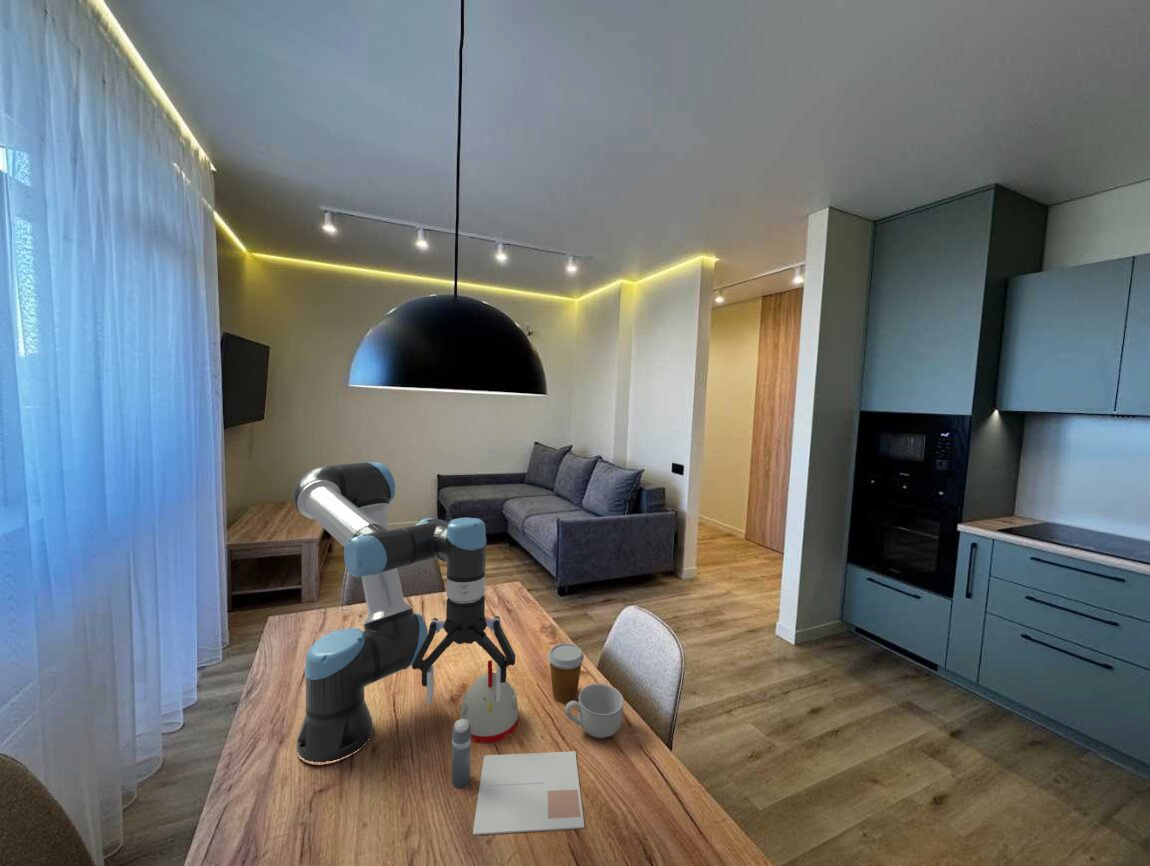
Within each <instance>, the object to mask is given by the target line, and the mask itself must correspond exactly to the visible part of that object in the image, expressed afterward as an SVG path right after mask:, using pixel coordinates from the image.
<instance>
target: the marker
mask: <svg viewBox="0 0 1150 866" xmlns="http://www.w3.org/2000/svg"><path fill="white" fill-rule="evenodd" d="M451 736H452V738H451V785H452V786H453V788H456V789H462V788H464V787H466V786H468V785H469V784H470V781H471V742H472V741H471V726H470V724H469V722H468V720H466V719H460V718H459V719H458V720H456V721H455V722H454V726H453V727H452V734H451Z"/></svg>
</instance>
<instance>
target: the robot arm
mask: <svg viewBox="0 0 1150 866" xmlns="http://www.w3.org/2000/svg"><path fill="white" fill-rule="evenodd" d="M292 491H293V492H292V501H293V505H294V506H295V508H296V509H297V511H298V512H299V513H300V514H301V515H303V516H304V517H305V518H308V519H311V520H315V521H316V522H317V523H318V524H319V525H320V526H321V527H323V529H324V530H325V531H326V532H327V533H328V534H330V535H331V536H332V537H333V538H334V539H335V540H336V541H337V542H338V543H339V544H340V545H341V546H342V547H344V549H343V557H344V558H343V559H344V564H345V566H346V568H347V572H348V573H349V575H351V576H352V577H354V578H361V581H362V587H363V592H364V597H365V602H366V608H367V613H368V614H367V617H366V619H365V620H364V621H363V628H364V631H363V630H362V629H360V628H356V627H347V628H346V629H345V628H340V629H337V630H334V631H331V632H329V633H326V634H325V635H322V636H321V637H320V638H319V639H317V640H316V641H314V642H313V644H312V645H311V646H310V648H309V649H308V651H307V653H306V658H305V666H304V676H305V715H304V719H303V722H302V725H301V728H300V730H299V733H298V736H297V739H296V753H297V752H298V753H299V755H300V756H301V757H302V758H304V759H305V760H308V761H313V762H326V761H333V760H337V759H340V758H342V757H345V756H347V755H349V754H351V753H353V752H355V751H357V750H358V749H360V748H361V747H362V746H363V745H364V744H365V743H366V742H367V741H368V739H369V738H370V739H371V737H372V735H371V733H372V734H373V717H372V715H371V713H370V710H369V707H368V704H367V702H366V699H365V687H366V686H369V685H371V684H374V683H375V682H378V681H380V680H382V679H384V678H387V677H389V676H391V675H393V674H395V673H398V672H400V671H403V670H407V669H408V668H409V667H411V668H412V670H420V672H421V685H422V687H426V705H432V701H433V698H434V684H435V683H434V678H435V677H434V671H435V669H434V668H435V667H434V663H435V662H436V661H437V660H438V659H439V658H440V657H441V656H442V655H443V653H444V652H445V651H446V649H447V648H449V647H450V646H451V645H452V644H453V643H456V645H462V644H468V645H472V644H473V643H477V644H478V646H479V647H482V649H484V651H485V652H486V653H487V654H488V655H489V657H490V658H491V660H492V661H494V662H495V663H496V664H497V665H496V673H497V674H496V701H500V691H501V683H505V681H507V668H508V667H509V666H514V665H515V664H516V652H514V650H513V647H512V645H511V643H510V642H509V640H508V638H507V636H506V634H505V632H504V630H503V628H502V626H501V617H500V616H498V615H497V616H494V618H490V619H486V617H485V614H486V611H485V610H486V608H485V607H486V605H485V602H486V600H485V598H486V597H485V593H486V552H487V535H486V524H485V522H484V521H483V520H482V519H480V518H476V517H474V518H473V517H458V518H455V519H451V520H450V521H449V522H448V521H445V520H443V519H440V518H434V517H433V518H431V517H426V518H423V519H421V520H420V521H418V522H417V523H416V524H415V525H411V526H407V527H406V526H405V527H401V528H395V529H390V528H389V523H388V517H387V512H388V511H389V509H390V507H391V502H392V501H393V500H394V497H395V496H396V483H395V479H394V475H393V474H392V472H391V470H390V469H389V467H388V466H386V465H385V464H383V463H382V462H377V461H376V462H374V461H373V462H370V461H363V462H357V463H356V462H355V463H353V462H352V463H343V464H340V463H339V464H328V465H320V466H316V467H315V468H312V469H310V470H309V471H307V472H305V473H304V474H303V475H302V476H301V477H300V478H299V479H298V480H297V482H296V483H295V485H294V487H293V490H292ZM432 559H437V560H441V561H442V562H445V563H446V597H447V599H446V611H445V613H446V615H445V616H446V617H445V620H439V619H438V618H437V617H433V618H432V619H431V622H430V625H429V628H427V623H426V621H425V620H424V617H423V616H422V615H421V614H420V613H417V612H416V613H415V612H414V609H413V606H411V605H410V604H408V603H406V602H405V597H404V592H403V589H402V585H401V578H400V575H399V570H398V568H402V567H405V566H411V565H413V564H414V565H415V564H417V563H421V562H425V561H429V560H432ZM487 628H489V629H490V631H492V632H493V633H494V636H495V638H496V640H497V642H498V644H499V647H500V648H501V650H502V651H501V650H500V649H499V648H498V647H497V645H496V644H495V643H494V642H493V641H492V640H491V639H490V638H489V636H488V635H487V633H486V632H485V630H486V629H487ZM442 629H444V631H445V633H446V635H445V637H444V638H443V639H442V640H441V642H439V644H438V645H437V646H436V647H435V648H434V649H433V651H432V652H431V653H430V654H429V655H428V656H427V657H426V658H424V657H425V654H426V653H427V651H428V649H429V647H430V645H432V642H433V640H434V637H435V635H436V634H438V633H440V632H441V630H442ZM370 736H371V737H370ZM370 739H369V740H370ZM368 742H369V741H368ZM368 742H367V743H368ZM367 743H366V744H367ZM360 750H361V749H360Z"/></svg>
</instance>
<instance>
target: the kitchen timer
mask: <svg viewBox="0 0 1150 866" xmlns="http://www.w3.org/2000/svg"><path fill="white" fill-rule="evenodd" d="M496 674H497V672H495V671H494V672H493V659H490V660H489V659H488V661H487V672H485V673H484V674H482V675H480V676H479V677H478V678H476V680H475V681H474V682H473V683H472V685H471V686H470V687H469V689H468V691H467V690H465V691H464V694H463V697H462V703H461V708H460V716H459V720H460V719H466V720H468V722H469V724H470V726H471V742H475V743H478V744H491V743H496V742H499V741H501V740H504V739H505V738H507V737H509V736H511V734H512V733H513V732H514V731H515V730H516V728H517V726H518V725H519V708H518V707H519V706H518V701H517V700H518V699H517V693H516V689H515V688H514V686H513V685H512V686H511V684H510V683H509V681H507V680H506V681H505V683H501V691H500V701H496Z"/></svg>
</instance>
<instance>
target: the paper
mask: <svg viewBox="0 0 1150 866" xmlns="http://www.w3.org/2000/svg"><path fill="white" fill-rule="evenodd" d="M581 795H582V794H581V787H580V780H579V770H578V762H577V753H576V751H575V750H574V751H556V752H555V751H554V752H531V753H530V752H529V753H509V754H491V755H490V754H489V755H488V754H487V755H483V762H482V769H481V775H480V781H479V788H478V796H477V801H476V808H475V809H476V810H475V814H474V815H475V816H474V823H473V828H472V829H473V830H472V836H482V834H483V835H497V834H499V833H500V834H513V833H527V832H528V833H531V832H532V833H533V832H544V831H545V832H546V831H561V830H579V829H585V821H584V813H583V804H582V797H581Z"/></svg>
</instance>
